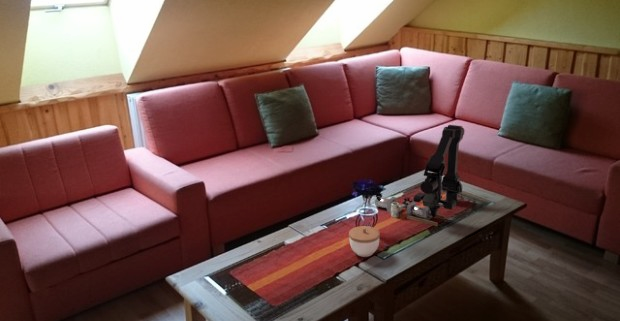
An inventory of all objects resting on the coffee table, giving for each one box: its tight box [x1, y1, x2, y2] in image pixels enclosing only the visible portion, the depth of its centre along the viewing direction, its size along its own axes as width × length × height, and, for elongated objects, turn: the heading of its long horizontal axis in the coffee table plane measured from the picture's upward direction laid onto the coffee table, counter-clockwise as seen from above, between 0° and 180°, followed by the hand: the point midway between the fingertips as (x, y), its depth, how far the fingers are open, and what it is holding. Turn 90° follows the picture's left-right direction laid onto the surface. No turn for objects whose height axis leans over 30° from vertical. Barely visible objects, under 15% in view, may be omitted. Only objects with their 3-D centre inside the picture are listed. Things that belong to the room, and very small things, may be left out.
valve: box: [390, 197, 414, 219], centre depth 249 cm, size 7×7×12 cm
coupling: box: [406, 201, 433, 221], centre depth 244 cm, size 10×6×6 cm, turn 52°
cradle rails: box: [406, 213, 446, 227], centre depth 243 cm, size 9×15×2 cm, turn 53°
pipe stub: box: [374, 196, 398, 214], centre depth 255 cm, size 9×6×6 cm, turn 53°
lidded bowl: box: [348, 225, 381, 258], centre depth 214 cm, size 13×13×11 cm
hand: (433, 217), depth 240 cm, fingers closed
